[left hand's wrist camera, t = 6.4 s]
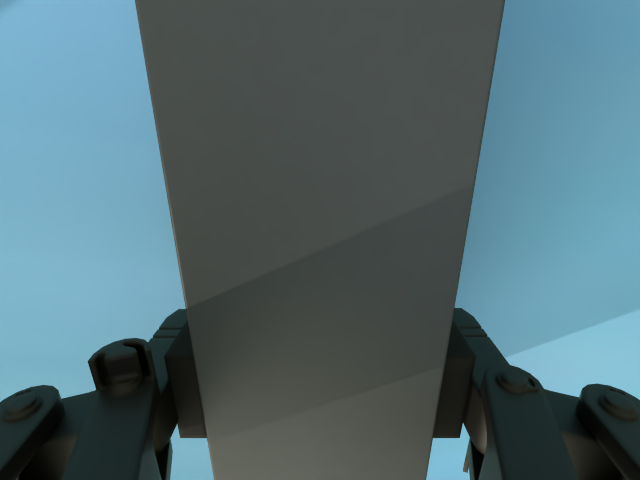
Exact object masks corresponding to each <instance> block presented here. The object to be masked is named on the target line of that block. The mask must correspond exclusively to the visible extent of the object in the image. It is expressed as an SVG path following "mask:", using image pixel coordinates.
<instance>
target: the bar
mask: <svg viewBox="0 0 640 480" xmlns="http://www.w3.org/2000/svg"><path fill="white" fill-rule="evenodd" d="M135 3H136V9H137V15H138V22H139V28H140V34H141V40H142V46H143V52H144V58H145V64H146V70H147V76H148V82H149V88H150V94H151V100H152V106H153V112H154V118H155V125H156V131H157V137H158V143H159V149H160V155H161V161H162V167H163V173H164V179H165V185H166V191H167V197H168V203H169V209H170V215H171V221H172V228H173V234H174V240H175V246H176V252H177V258H178V264H179V270H180V276H181V282H182V288H183V294H184V300H185V306H186V312H187V318H188V324H189V331H190V337H191V343H192V349H193V355H194V361H195V367H196V373H197V379H198V385H199V391H200V397H201V403H202V409H203V415H204V421H205V427H206V434H207V440H208V446H209V452H210V458H211V464H212V470H213V476H214V480H426V476H427V470H428V464H429V458H430V452H431V446H432V440H433V434H434V428H435V422H436V415H437V409H438V403H439V397H440V391H441V385H442V379H443V373H444V367H445V361H446V355H447V349H448V343H449V337H450V331H451V325H452V319H453V313H454V306H455V300H456V294H457V288H458V282H459V276H460V270H461V264H462V258H463V252H464V246H465V240H466V234H467V228H468V222H469V216H470V210H471V204H472V197H473V191H474V185H475V179H476V173H477V167H478V161H479V155H480V149H481V143H482V137H483V131H484V125H485V119H486V113H487V107H488V101H489V94H490V88H491V82H492V76H493V70H494V64H495V58H496V52H497V46H498V40H499V34H500V28H501V22H502V16H503V10H504V4H505V0H135Z"/></svg>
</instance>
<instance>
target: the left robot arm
mask: <svg viewBox="0 0 640 480" xmlns="http://www.w3.org/2000/svg"><path fill="white" fill-rule="evenodd" d="M88 364H89V367H90V370H91V374H92V377H93V380H94V383H95V387H96V391H92V392H89V393H85V394H80V395H76V396H72V397H67V398H63V399H61V397H60V394H59V391H58V390H57V389H56V388H55V387H53V386H47V385H41V386H35V387H30V388H27V389H25V390H22V391H19V392H17V393H15V394H13V395H11V396H9V397H8V398H6V399H4V400H3V401H1V402H0V480H170V474H171V463H172V452H173V451H172V444H171V440H170V438H171V436H172V434H173V431H174V429H175V427H176V425H177V424H178V429H179V434H180V438H207V434H206V427H205V421H204V415H203V409H202V403H201V397H200V391H199V385H198V379H197V373H196V367H195V361H194V355H193V349H192V343H191V337H190V331H189V324H188V318H187V312H186V309H178V310H177V311H176V312H174V313H173V314H171V315H170V316H168V317H167V318H166V319H165V321H164V322H163V323H162V325H161V326H160V327H159V330H157V331H156V333H155V334H154V335H153V338H151V339H150V341H149V342H147V341H145V340H143V339H138V338H130V339H123V340H119V341H116V342H113V343H111V344H108V345H106V346H104V347H102V348H101V349H100V350H98V351H97V352H96V353H94V354H93V355H92V357H91V358H90V359H89V361H88ZM463 423H464V425H465V428H466V430H467V432H468V434H469V436H470V440H469V444H468V449H467V453H466V458H465V462H464V468H463V472H467V473H468V468H469V473H470V480H640V400H639V399H637V398H636V397H634V396H632V395H630V394H628V393H626V392H625V391H623V390H620V389H617V388H614V387H612V386H608V385H602V384H590V385H587V386H585V387H584V388H583V389H582V391H581V394H580V397H574V396H570V395H566V394H561V393H557V392H553V391H549V390H546V389H544V388H543V387H542V385H541V384H540V382H539V381H538V380H537V379H536V378H535V377H534V376H532V375H531V374H530V373H528V372H526V371H524V370H522V369H520V368H518V367H515V366H511V365H509V363H508V362H507V361H506V359H505V358H504V357H503V355H502V354H501V353H500V351H499V350H498V349H497V347H496V346H495V345H494V343H493V342H492V341H491V339H490V338H489V337H487V334H486V333H485V331H484V330H483V329H481V326H480V325H479V323H478V322H477V321H476V319H475V318H474V317H473V316H472V315H470V314H469V313H468V312H466V311H465V310H463V309H462V308H454V313H453V319H452V325H451V331H450V337H449V343H448V349H447V355H446V361H445V367H444V373H443V379H442V385H441V391H440V397H439V403H438V409H437V415H436V422H435V428H434V434H433V438H460V434H461V429H462V424H463Z"/></svg>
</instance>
